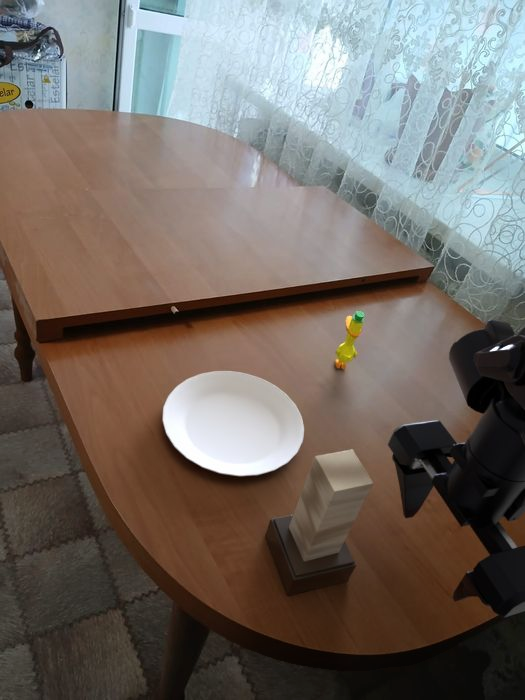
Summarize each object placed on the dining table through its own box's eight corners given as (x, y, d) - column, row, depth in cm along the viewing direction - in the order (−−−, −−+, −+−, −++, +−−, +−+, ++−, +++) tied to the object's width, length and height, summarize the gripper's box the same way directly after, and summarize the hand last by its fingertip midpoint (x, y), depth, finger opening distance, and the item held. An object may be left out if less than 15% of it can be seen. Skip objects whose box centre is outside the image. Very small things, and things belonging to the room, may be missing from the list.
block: (339, 552, 63) (373, 483, 55) (303, 561, 62) (334, 491, 54) (322, 519, 67) (352, 449, 59) (288, 527, 65) (315, 456, 57)
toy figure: (328, 351, 101) (346, 297, 93) (347, 354, 101) (366, 300, 94) (332, 375, 95) (352, 320, 88) (352, 378, 96) (373, 323, 88)
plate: (232, 513, 69) (235, 503, 68) (131, 418, 79) (132, 407, 77) (327, 438, 83) (331, 428, 82) (232, 364, 92) (234, 354, 91)
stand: (348, 581, 65) (357, 563, 63) (287, 596, 62) (294, 578, 60) (321, 524, 71) (329, 505, 68) (264, 535, 68) (270, 516, 65)
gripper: (659, 533, 42) (554, 627, 51) (505, 372, 55) (444, 470, 64) (552, 563, 38) (460, 659, 47) (413, 381, 51) (363, 485, 60)
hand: (431, 555), depth 55 cm, fingers open, 9 cm apart
